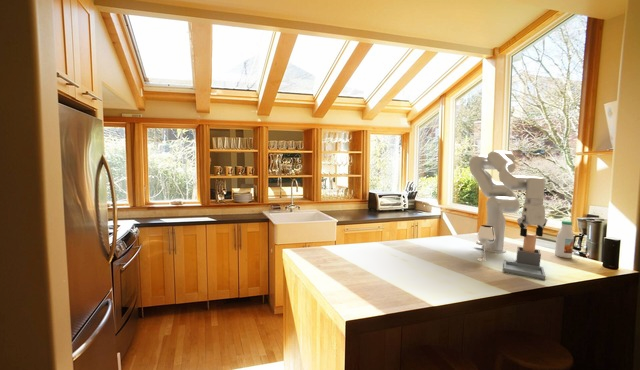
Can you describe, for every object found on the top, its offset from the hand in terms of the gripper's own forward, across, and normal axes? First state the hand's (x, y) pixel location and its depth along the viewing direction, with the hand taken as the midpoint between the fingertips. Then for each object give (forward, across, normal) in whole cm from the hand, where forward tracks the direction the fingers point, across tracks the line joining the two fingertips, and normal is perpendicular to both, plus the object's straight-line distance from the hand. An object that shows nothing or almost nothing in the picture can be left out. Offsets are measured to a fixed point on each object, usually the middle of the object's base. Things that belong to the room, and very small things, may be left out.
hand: (531, 236), depth 161 cm
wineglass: (+15, -18, +9) cm, 25 cm away
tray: (+15, -11, -8) cm, 20 cm away
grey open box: (+15, 0, +1) cm, 15 cm away
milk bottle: (+15, +36, +12) cm, 41 cm away
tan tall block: (+14, 0, +1) cm, 14 cm away
